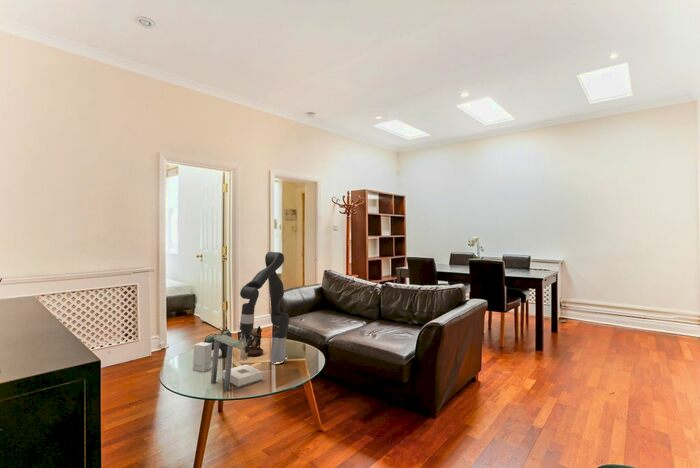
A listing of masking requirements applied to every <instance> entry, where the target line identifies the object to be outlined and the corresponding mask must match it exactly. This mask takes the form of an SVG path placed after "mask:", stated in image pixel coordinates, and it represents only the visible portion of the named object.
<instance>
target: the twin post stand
mask: <svg viewBox="0 0 700 468" xmlns="http://www.w3.org/2000/svg"><path fill="white" fill-rule="evenodd" d="M214 339H215V341H214V350H213V353H212V362H211V365H212V367H211V374H210V384H212V385H214V384H217V377H218V376H217V375H218V366H219V365H218V364H219V353H220V349H219V344H220V342H222V343H225V344H227V345H228V347H227V356H226V357H225V358H226V360H225V362H226V363H225V369H224V370H225V381H224V380H223V381H224V384H223V392H228V390H229V391H230V385H231V384H230V375H231V368H232V362H233V361H232V360H233V353H234V352H233V351H234V350H233V349H234V348H235V349H237V350H239V351H240V350H241V349H242V341H240V340H238V338H234V337H230V336H227V335H221V336H215V337H214Z"/></svg>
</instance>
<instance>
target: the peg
mask: <svg viewBox="0 0 700 468" xmlns="http://www.w3.org/2000/svg"><path fill="white" fill-rule="evenodd" d="M248 340H249V339H248ZM248 340H247V341H248ZM247 344H248V342H247ZM245 346H246V345H245V341H244V338H242V349H241V351H240V355H239V356H240V357H239V359H240V360H241V361H247V360H248V358H249V357H248V356H249V355H248V353H245Z"/></svg>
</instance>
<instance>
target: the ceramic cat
mask: <svg viewBox="0 0 700 468" xmlns="http://www.w3.org/2000/svg"><path fill="white" fill-rule="evenodd" d="M220 329H221V330H220ZM217 330H218V331H219V330H220V333H219V334H218V333H217V334H216V333H214V334H213V333H211V334H208V335H206V336H205V338H204V341H203V342H205V343H212V351H214V341H215V339H214V337H215V336H221V335H227V336H230V337H232V332H231V331H230V329H227V330H224V328H223V327H219V328H217ZM232 338H233V337H232ZM227 347H228V345H227V344H225V343H222V342H220V344H219V351H220V352H221V357H223V358H227Z"/></svg>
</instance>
